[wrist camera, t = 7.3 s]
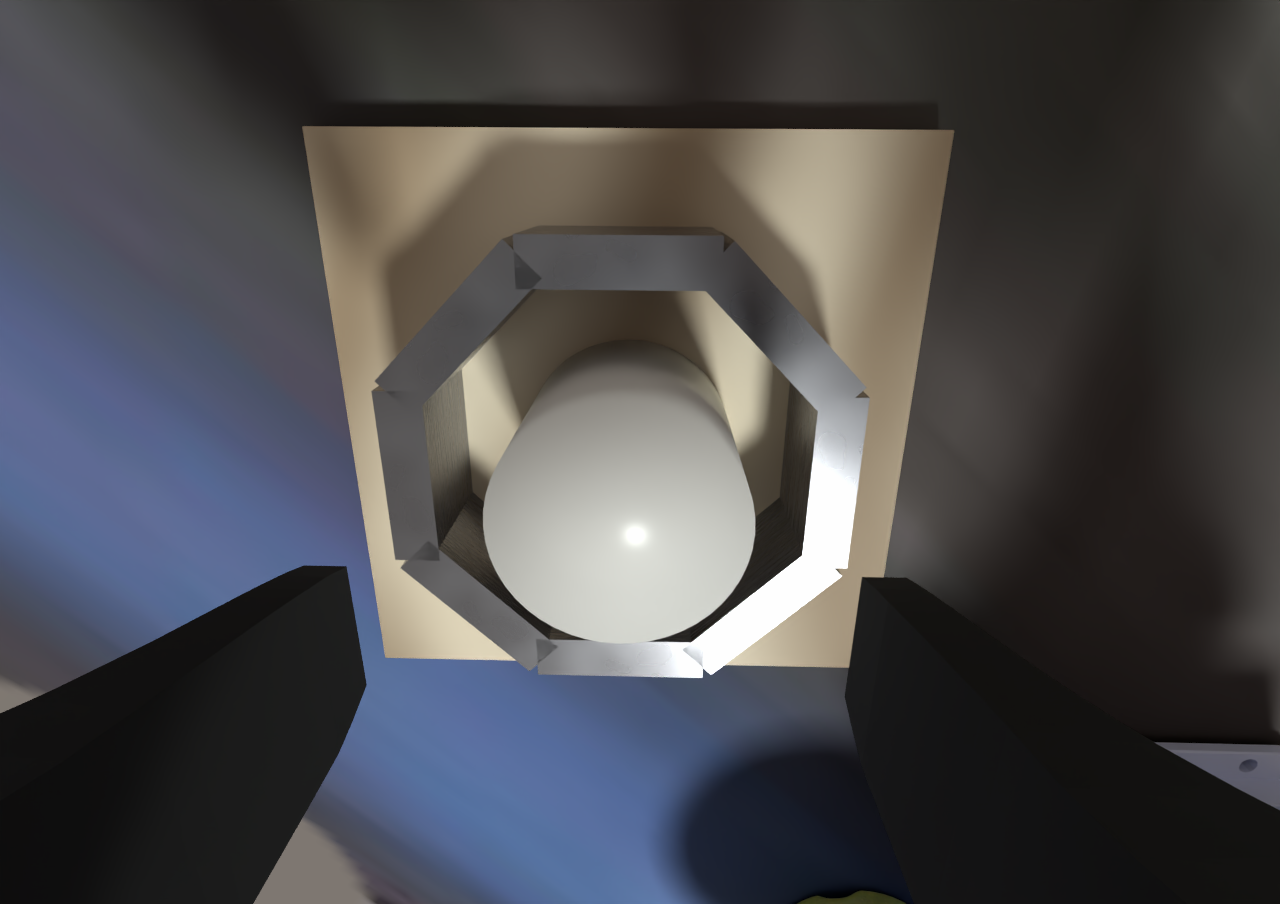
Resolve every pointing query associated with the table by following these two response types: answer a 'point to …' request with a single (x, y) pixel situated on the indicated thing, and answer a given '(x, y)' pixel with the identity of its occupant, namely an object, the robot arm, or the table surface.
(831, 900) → the plant pot
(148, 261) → the table surface
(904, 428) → the mount plate
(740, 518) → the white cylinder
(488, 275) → the lens ring
